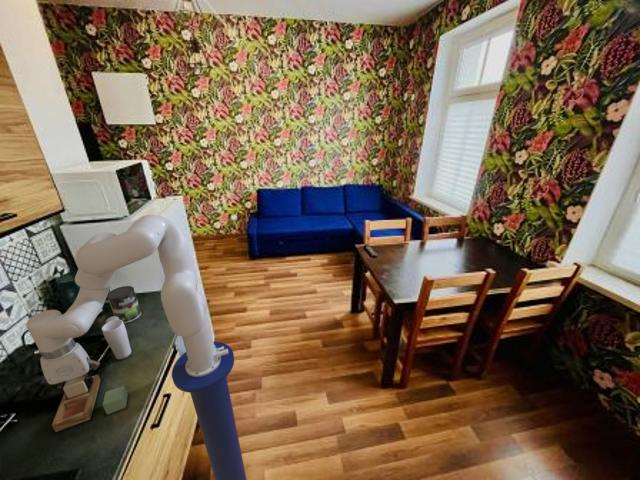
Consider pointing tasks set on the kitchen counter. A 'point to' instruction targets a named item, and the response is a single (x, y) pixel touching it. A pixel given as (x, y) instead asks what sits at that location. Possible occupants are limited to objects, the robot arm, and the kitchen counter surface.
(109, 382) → the kitchen counter surface
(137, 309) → the coffee can
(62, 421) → the pad frame
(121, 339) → the drinking glass
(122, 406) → the sage pad
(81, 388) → the cream pad
